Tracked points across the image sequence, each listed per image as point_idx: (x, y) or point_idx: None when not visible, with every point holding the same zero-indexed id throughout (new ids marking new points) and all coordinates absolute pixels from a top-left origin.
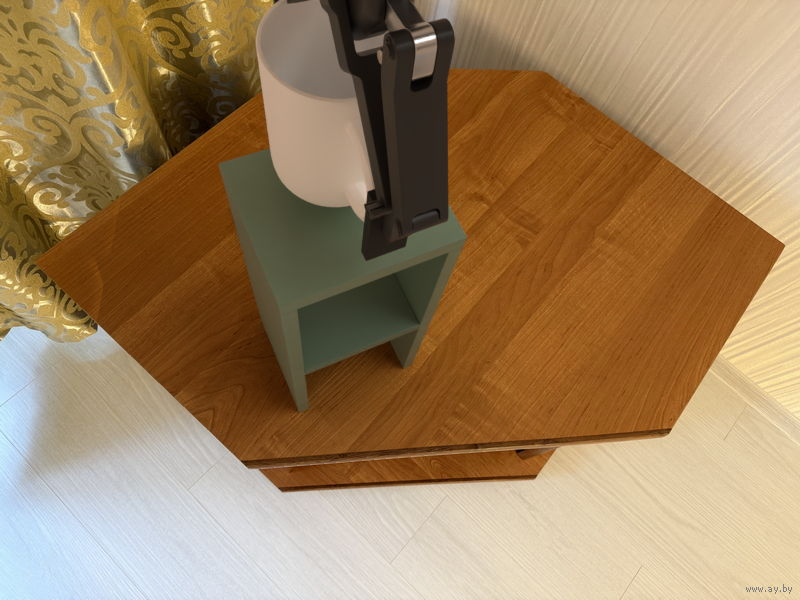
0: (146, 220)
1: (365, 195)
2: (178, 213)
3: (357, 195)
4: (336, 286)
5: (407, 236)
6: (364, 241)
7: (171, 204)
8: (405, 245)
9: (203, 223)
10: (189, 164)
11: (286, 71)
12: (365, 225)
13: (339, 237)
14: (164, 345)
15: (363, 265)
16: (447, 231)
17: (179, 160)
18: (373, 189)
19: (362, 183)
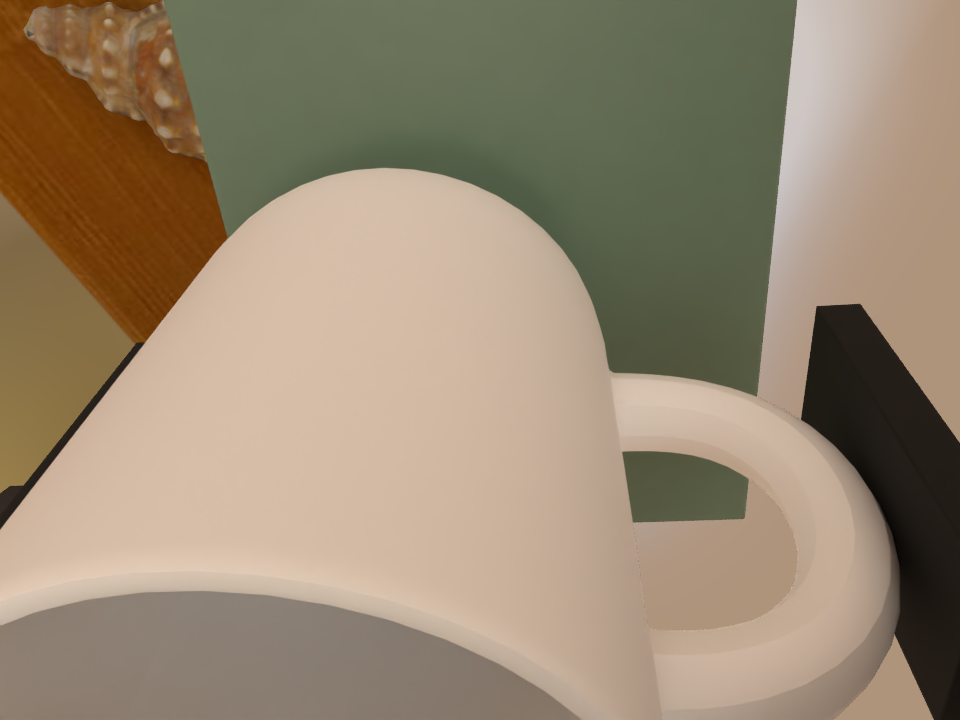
0: None
1: (673, 423)
2: (164, 259)
3: (664, 446)
4: (756, 393)
5: (888, 345)
6: None
7: (142, 266)
8: (862, 309)
9: (191, 222)
10: (46, 215)
11: (176, 609)
12: None
13: (619, 345)
14: None
15: (734, 315)
16: (747, 7)
17: (36, 231)
18: (941, 709)
19: (617, 410)
